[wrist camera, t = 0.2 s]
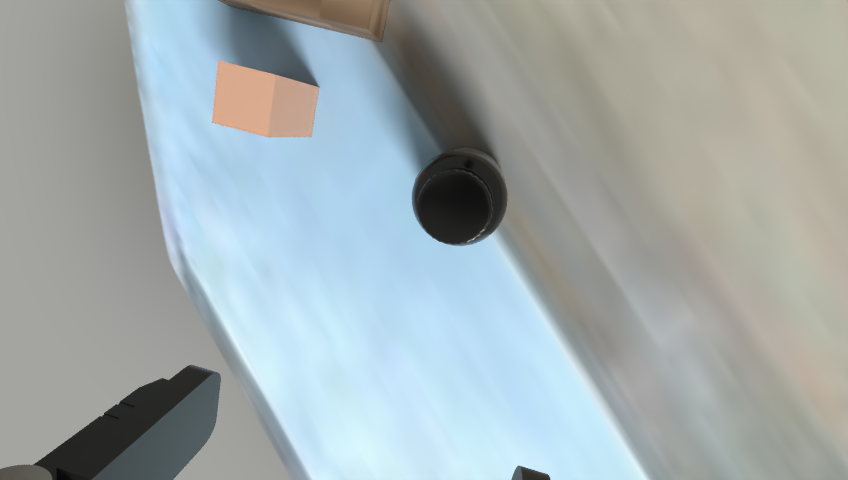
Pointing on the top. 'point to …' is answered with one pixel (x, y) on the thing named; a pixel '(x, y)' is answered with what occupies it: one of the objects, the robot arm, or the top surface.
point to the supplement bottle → (460, 197)
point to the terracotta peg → (263, 102)
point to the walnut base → (326, 14)
